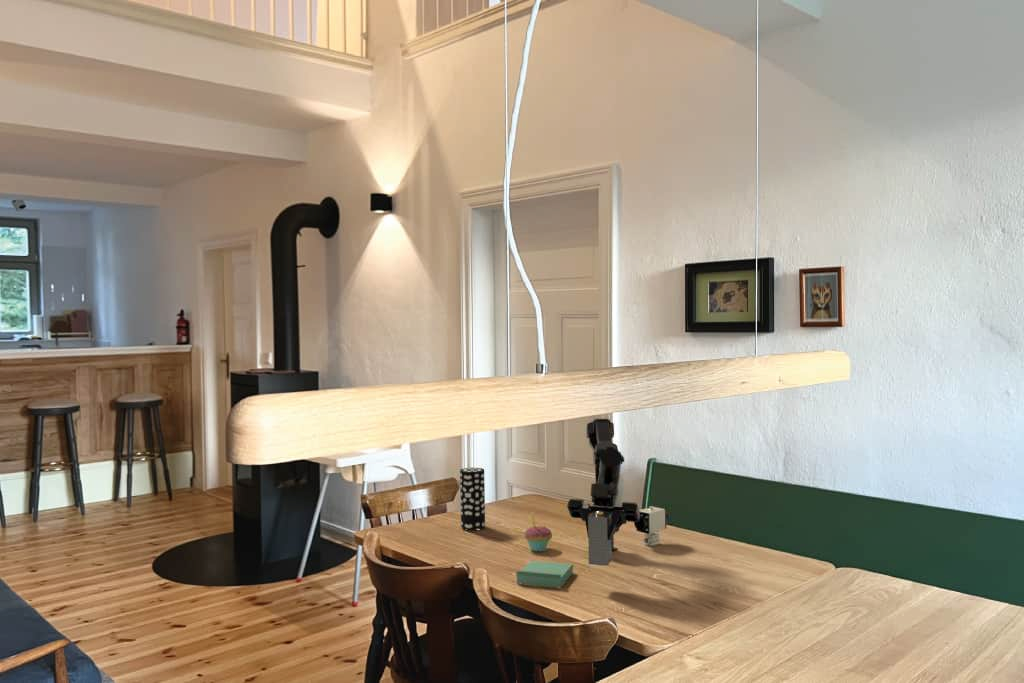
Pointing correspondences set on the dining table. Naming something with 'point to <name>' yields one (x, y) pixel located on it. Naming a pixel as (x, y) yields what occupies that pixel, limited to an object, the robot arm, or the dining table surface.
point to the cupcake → (537, 536)
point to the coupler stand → (544, 574)
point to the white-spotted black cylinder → (472, 498)
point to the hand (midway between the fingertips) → (598, 538)
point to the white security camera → (652, 524)
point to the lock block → (599, 538)
